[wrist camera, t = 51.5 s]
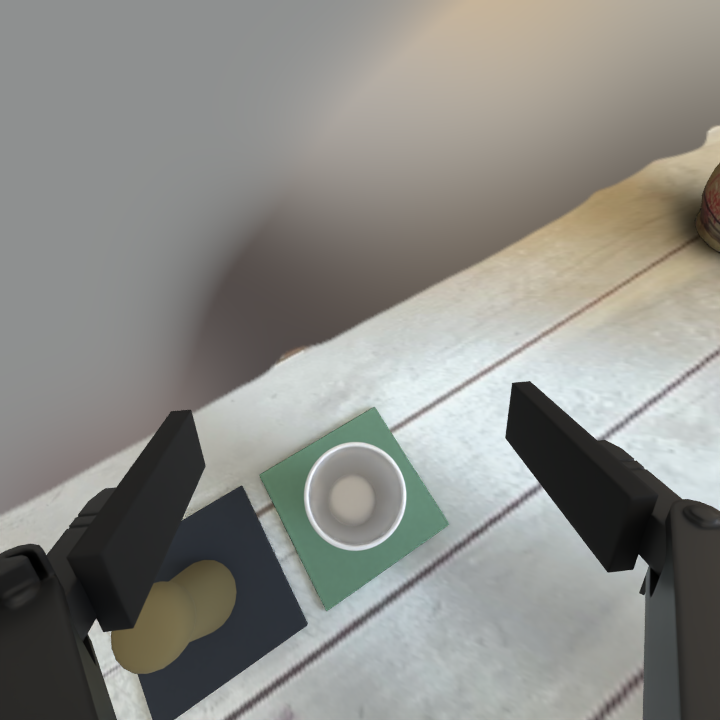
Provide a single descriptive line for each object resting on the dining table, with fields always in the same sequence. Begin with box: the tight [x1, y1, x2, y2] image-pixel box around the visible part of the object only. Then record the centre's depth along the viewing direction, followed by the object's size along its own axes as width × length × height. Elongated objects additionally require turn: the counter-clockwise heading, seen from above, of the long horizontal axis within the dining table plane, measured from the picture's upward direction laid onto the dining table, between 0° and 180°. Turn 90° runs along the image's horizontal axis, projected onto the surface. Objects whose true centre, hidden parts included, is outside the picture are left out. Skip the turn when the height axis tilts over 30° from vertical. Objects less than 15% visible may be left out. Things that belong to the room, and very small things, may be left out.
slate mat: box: [138, 486, 307, 720], centre depth 35 cm, size 14×14×1 cm
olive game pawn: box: [111, 560, 237, 674], centre depth 29 cm, size 6×6×11 cm
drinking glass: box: [304, 442, 406, 551], centre depth 31 cm, size 7×7×15 cm
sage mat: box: [260, 407, 449, 611], centre depth 38 cm, size 14×14×1 cm
